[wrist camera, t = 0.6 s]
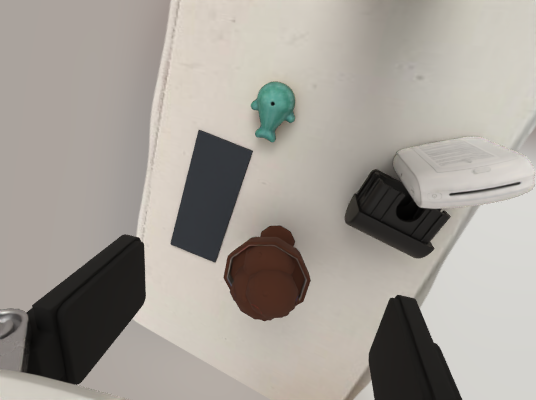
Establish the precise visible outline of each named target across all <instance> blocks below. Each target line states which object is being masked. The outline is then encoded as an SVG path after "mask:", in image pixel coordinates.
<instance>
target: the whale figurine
mask: <svg viewBox="0 0 536 400" xmlns="http://www.w3.org/2000/svg"><path fill="white" fill-rule="evenodd" d="M294 107H295V96H294V93H293V91H292V90H291V88H290V87H289V86H287V85H286V84H284V83H281V82H270V83H268V84H266V85H264V86H263V87H262V88H261V90H260V91H259V93H258V97H257V99H256V100H255V101H253V102H252V104H251V108H252V109H253V110H258V111H259V117H260V122H261V126H260V128H259V129H257V131H256V132H255V135H256V137H259V138H265V139H267V140H269V141H270V142H274V141H275V140H276V136H275V130H276V128H277V127H278V126H279V125H280V124H281V123H282V122H283V121H287V122H289V123H292V122H294V120H295V116H294V113H293V109H294Z"/></svg>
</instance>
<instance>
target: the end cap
mask: <svg viewBox="0 0 536 400" xmlns="http://www.w3.org/2000/svg"><path fill="white" fill-rule="evenodd" d="M440 210H441V209H430V208H421V207H419V206H418V205H417V204H416V203H415V201H414V200H413V198H412V197H411V195H410V194H409V192H408V191H407V189H406V188H405V186H404V185H403V183H402V182H400V181H398V180H396V179H394V178H392V177H390V176H388V175H386V174H384V173H382V172H380V171H379V170H373V171H372V172H371V173H370V174H369V176H368V178H367V179H366V181H365V182H364V184H363V185H362V187H361V188H360V190H359V191H358V193H357V194H354V196H353V197H352V199H351V201H350V203H349V205H348V208H347V211H346V214H345V222H346V223H347V224H348V225H350V226H352V227H354V228H356V229H358V230H360V231H362V232H364V233H366V234H368V235H370V236H372V237H374V238H376V239H378V240H380V241H382V242H384V243H386V244H388V245H390V246H392V247H394V248H396V249H398V250H400V251H402V252H404V253H406V254H408V255H410V256H412V257H414V258H423V257H425V256H427V255H428V254H430V253H431V252H432V251H433V250H434V247H433V246H432V244H431V242H430V241H431V240H432V238H433V237H434V236H435V235H436V234H437V232H438V231H439V230H440V229H441V228H442V226H443V225H444V224H445V223H446V222H447V220H448V219H449V218H450V215H449V214H448V213H447V212H446V211H443V212H440Z"/></svg>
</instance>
